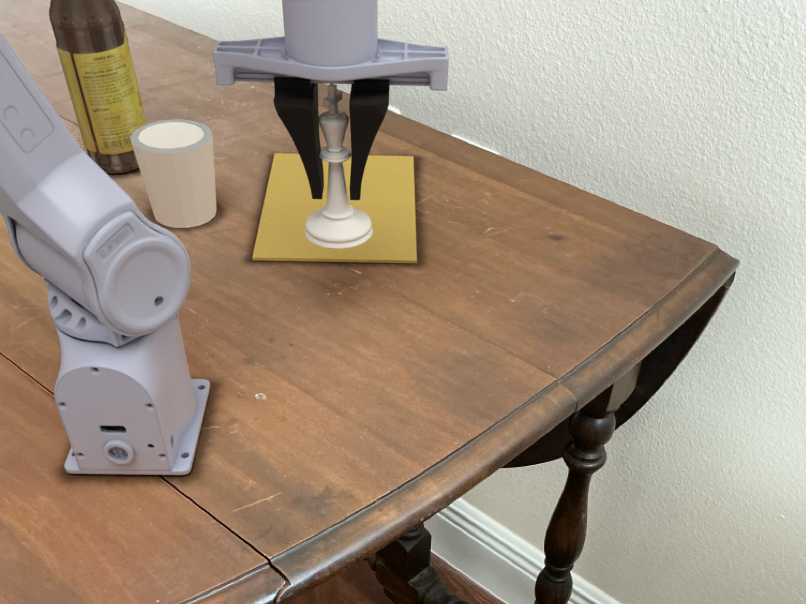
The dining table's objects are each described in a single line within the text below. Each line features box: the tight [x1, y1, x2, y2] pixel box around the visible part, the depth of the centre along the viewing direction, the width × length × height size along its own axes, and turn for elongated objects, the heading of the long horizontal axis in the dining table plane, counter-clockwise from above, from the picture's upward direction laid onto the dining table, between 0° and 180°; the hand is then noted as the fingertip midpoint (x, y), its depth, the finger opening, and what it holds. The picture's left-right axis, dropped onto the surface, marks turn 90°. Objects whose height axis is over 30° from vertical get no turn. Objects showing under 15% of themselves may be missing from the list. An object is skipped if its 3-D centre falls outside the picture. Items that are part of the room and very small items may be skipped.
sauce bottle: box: [48, 0, 148, 174], centre depth 76 cm, size 6×6×20 cm
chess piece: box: [305, 84, 373, 249], centre depth 58 cm, size 5×5×10 cm
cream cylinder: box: [130, 118, 218, 229], centre depth 74 cm, size 7×7×7 cm
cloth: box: [251, 152, 418, 264], centre depth 78 cm, size 20×14×1 cm
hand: (337, 193), depth 59 cm, fingers closed on chess piece
